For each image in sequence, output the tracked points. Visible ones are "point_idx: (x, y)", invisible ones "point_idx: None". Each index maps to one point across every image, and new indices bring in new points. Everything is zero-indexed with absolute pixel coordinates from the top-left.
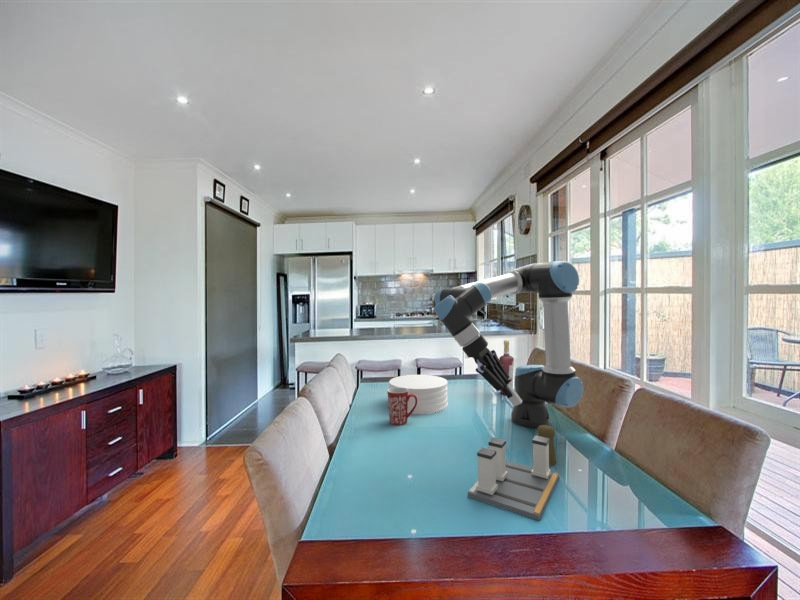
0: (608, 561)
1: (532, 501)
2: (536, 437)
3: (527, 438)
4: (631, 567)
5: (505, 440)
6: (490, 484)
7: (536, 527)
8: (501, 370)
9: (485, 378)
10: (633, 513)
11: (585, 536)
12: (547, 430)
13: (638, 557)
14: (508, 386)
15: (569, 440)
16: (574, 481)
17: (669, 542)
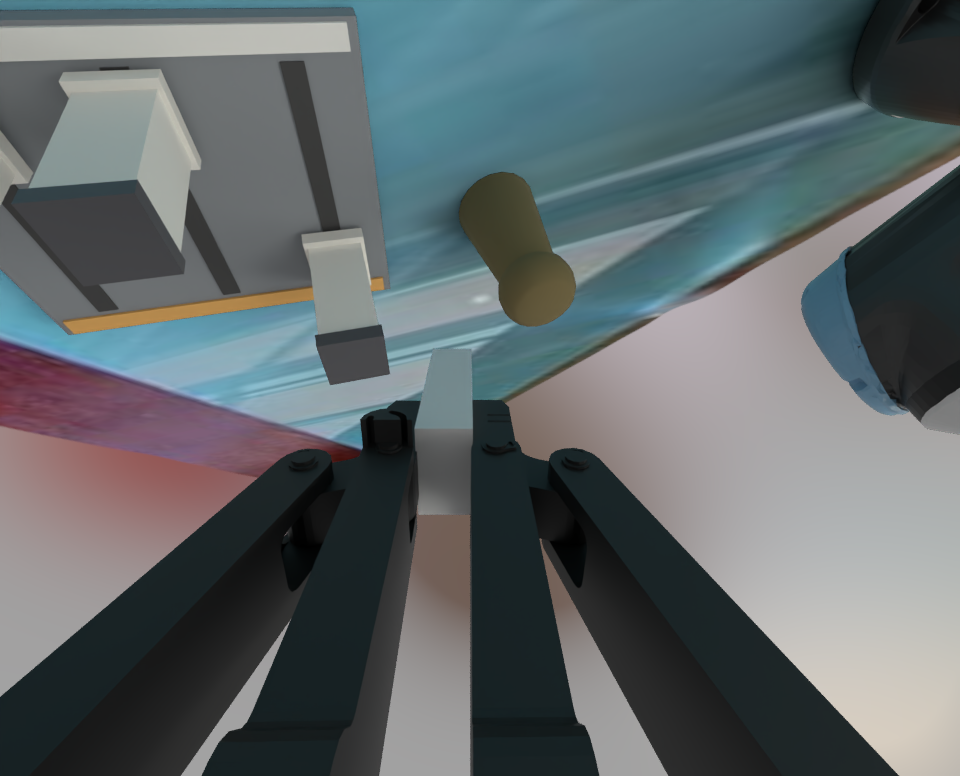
0: (106, 433)
1: (123, 295)
2: (360, 346)
3: (717, 57)
4: (136, 449)
5: (176, 273)
6: None
7: (27, 328)
8: (597, 612)
9: (39, 679)
10: (335, 409)
11: (143, 394)
12: (513, 316)
13: (181, 445)
14: (420, 505)
15: (703, 217)
16: (397, 310)
17: (281, 450)
